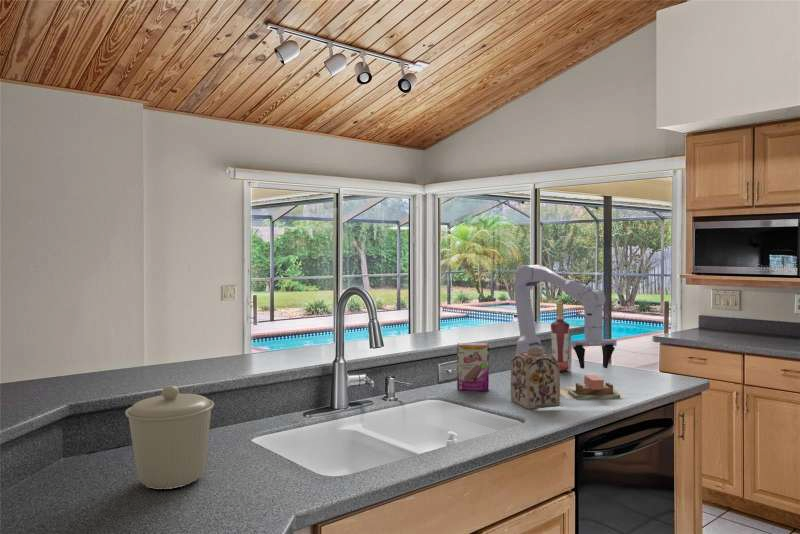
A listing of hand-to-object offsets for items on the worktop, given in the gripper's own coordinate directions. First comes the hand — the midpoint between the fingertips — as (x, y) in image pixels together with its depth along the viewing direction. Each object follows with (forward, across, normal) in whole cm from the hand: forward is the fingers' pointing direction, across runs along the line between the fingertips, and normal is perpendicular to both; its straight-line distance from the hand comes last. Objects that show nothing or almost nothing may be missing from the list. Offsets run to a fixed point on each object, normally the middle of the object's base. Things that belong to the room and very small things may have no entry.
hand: (593, 367), depth 193 cm
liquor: (+11, +2, +45) cm, 46 cm away
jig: (+10, 0, +4) cm, 11 cm away
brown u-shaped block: (+9, 0, 0) cm, 9 cm away
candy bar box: (+11, -38, +16) cm, 42 cm away
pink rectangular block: (+6, 0, 0) cm, 6 cm away
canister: (+11, -116, -62) cm, 131 cm away
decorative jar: (+11, -20, -4) cm, 23 cm away
